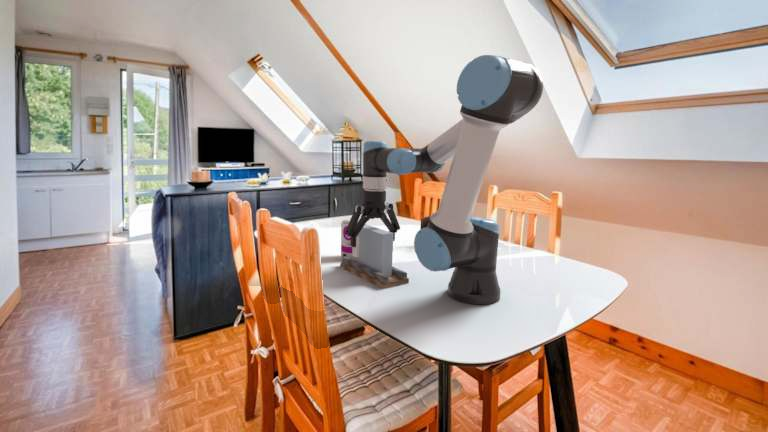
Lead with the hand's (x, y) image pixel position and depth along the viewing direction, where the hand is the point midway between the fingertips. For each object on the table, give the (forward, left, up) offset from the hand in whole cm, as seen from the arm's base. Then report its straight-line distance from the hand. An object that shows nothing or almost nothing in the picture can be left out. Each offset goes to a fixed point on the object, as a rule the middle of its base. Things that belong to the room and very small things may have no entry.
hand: (373, 253), depth 135 cm
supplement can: (+20, -4, -7) cm, 22 cm away
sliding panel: (0, 0, -6) cm, 6 cm away
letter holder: (+12, -45, -8) cm, 47 cm away
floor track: (0, 0, -7) cm, 7 cm away
